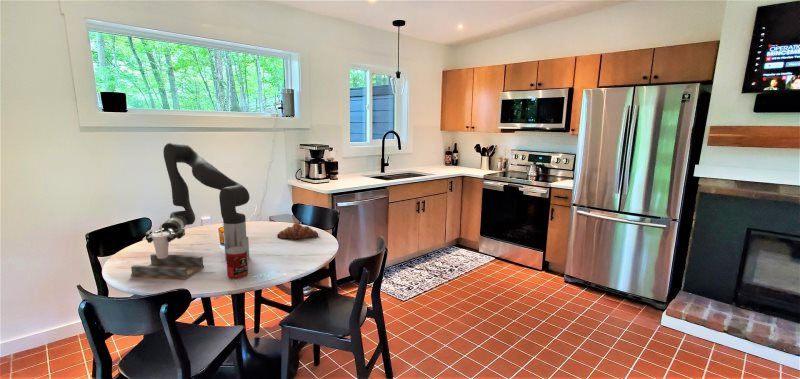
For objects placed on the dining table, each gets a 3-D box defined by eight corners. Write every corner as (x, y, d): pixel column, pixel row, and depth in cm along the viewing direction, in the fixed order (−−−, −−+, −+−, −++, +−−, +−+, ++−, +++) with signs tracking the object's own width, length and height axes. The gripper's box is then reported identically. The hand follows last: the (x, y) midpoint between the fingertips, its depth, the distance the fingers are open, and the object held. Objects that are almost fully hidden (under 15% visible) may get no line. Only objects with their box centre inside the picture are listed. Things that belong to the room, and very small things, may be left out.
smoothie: (162, 260, 149) (159, 226, 146) (149, 258, 150) (146, 225, 147) (175, 255, 155) (172, 222, 152) (162, 253, 156) (159, 221, 153)
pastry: (301, 231, 215) (301, 217, 214) (319, 236, 206) (319, 222, 205) (276, 238, 202) (275, 223, 200) (294, 243, 193) (294, 228, 191)
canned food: (235, 280, 146) (233, 254, 144) (223, 276, 150) (221, 250, 148) (252, 274, 153) (251, 248, 151) (240, 270, 157) (238, 245, 155)
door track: (204, 267, 159) (203, 256, 158) (184, 279, 146) (183, 267, 145) (154, 264, 160) (153, 253, 159) (131, 276, 147) (129, 264, 147)
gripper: (152, 220, 162) (137, 231, 146) (189, 219, 166) (178, 230, 150) (154, 236, 163) (139, 250, 147) (190, 235, 167) (179, 248, 151)
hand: (159, 240), depth 149 cm, fingers closed on smoothie, 6 cm apart
